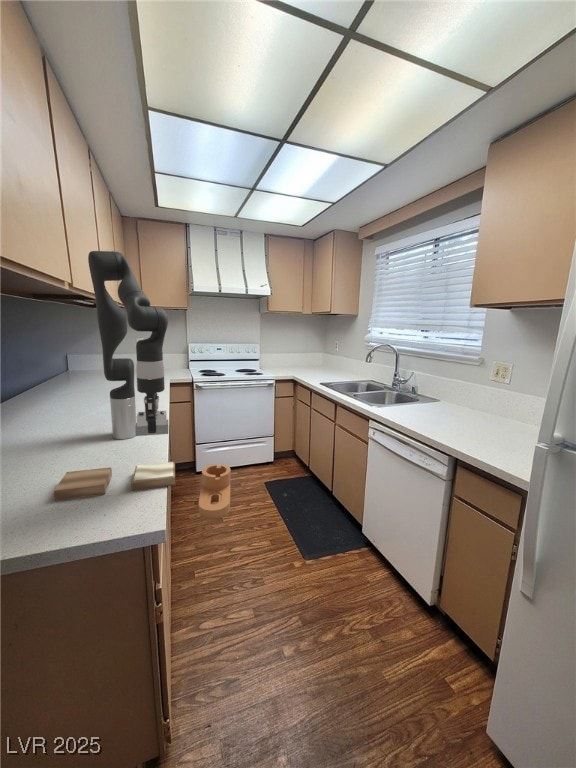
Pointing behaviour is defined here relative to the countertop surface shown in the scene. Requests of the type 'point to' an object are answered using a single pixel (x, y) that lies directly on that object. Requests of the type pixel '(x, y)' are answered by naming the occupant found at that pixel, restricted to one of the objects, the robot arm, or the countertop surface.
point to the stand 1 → (83, 483)
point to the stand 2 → (153, 476)
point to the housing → (142, 424)
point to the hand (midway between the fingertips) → (152, 429)
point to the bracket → (215, 491)
